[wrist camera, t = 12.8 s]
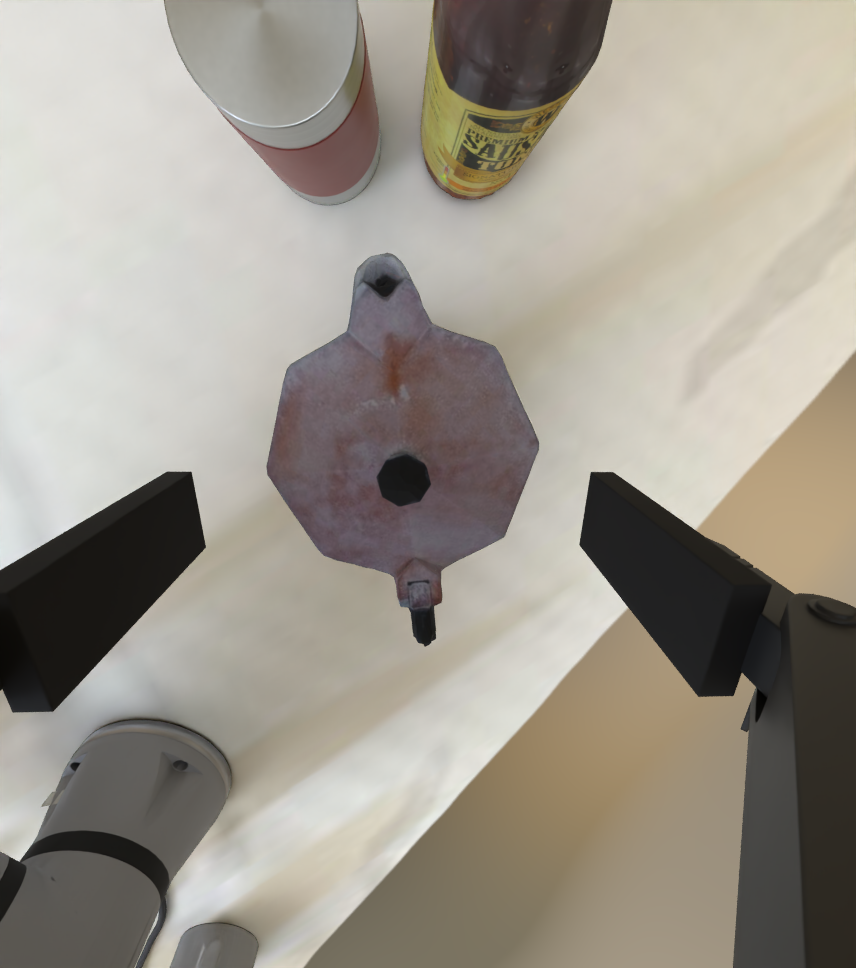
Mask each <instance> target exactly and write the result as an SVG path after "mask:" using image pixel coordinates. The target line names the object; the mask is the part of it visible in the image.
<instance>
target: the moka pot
mask: <svg viewBox="0 0 856 968" xmlns="http://www.w3.org/2000/svg"><path fill="white" fill-rule="evenodd" d="M538 450H539V441H538V439H537V436H536V434H535V431H534V429H533V427H532V424H531V422H530V420H529V418H528V416H527V414H526V412H525V410H524V408H523V405H522V403H521V401H520V399H519V397H518V394H517V392H516V390H515V388H514V385H513V383H512V381H511V379H510V376H509V374H508V372H507V370H506V367H505V364H504V362H503V359H502V357H501V355H500V354H499V352H498V350H497V349H496V347H495V346H493V345H491V344H488V343H486V342H483V341H480V340H477V339H474V338H470V337H467V336H464V335H460V334H457V333H454V332H451V331H448V330H446V329H443V328H441V327H438V326H436V325H433V324H432V322H431V321H430V319H429V317H428V315H427V313H426V311H425V309H424V307H423V305H422V302H421V299H420V296H419V293H418V291H417V289H416V287H415V286H414V284H413V282H412V280H411V277H410V275H409V273H408V271H407V270H406V268H405V266H404V265H403V263H402V262H401V261H400V260H399V259H398V258H397V257H396V256H394V255H393V254H390V253H385V254H380V255H375V256H371V257H369V258H368V259H367V260H366V261H365V262H364V263H363V264H362V265H360V266H359V267H358V268H357V271H356V274H355V278H354V286H353V297H352V306H351V313H350V319H349V324H348V329H347V331H346V332H345V333H343V334H342V335H340V336H339V337H337V338H336V339H334V340H332V341H331V342H329V343H327V344H326V345H324V346H322V347H320V348H319V349H317V350H315V351H313V352H311V353H310V354H308V355H306V356H304V357H303V358H301V359H299V360H297V361H296V362H294V363H292V364H291V365H290V366H289V367H288V368H287V371H286V374H285V378H284V382H283V387H282V392H281V397H280V402H279V406H278V412H277V417H276V423H275V428H274V433H273V437H272V442H271V447H270V452H269V457H268V462H267V474H268V476H269V478H270V479H271V481H272V482H273V484H274V485H275V487H276V488H277V490H278V491H279V493H280V494H281V496H282V497H283V499H284V500H285V502H286V503H287V505H288V506H289V508H290V509H291V511H292V512H293V514H294V515H295V517H296V518H297V519H298V521H299V522H300V524H301V525H302V527H303V528H304V530H305V531H306V533H307V534H308V536H309V537H310V539H311V540H312V541H313V543H314V544H315V546H316V547H317V549H318V550H319V551H320V552H321V553H322V554H323V555H324V556H327V557H329V558H332V559H334V560H337V561H342V562H347V563H351V564H355V565H358V566H362V567H365V568H372V569H375V570H378V571H382V572H385V573H388V574H390V575H392V576H393V577H394V579H395V583H396V588H397V596H398V600H399V604H400V606H401V607H408V608H409V610H410V612H411V619H412V629H413V636H414V637H415V638H416V639H417V642H418V643H421V644H424V646H427V645H429V644H430V643H431V641H433V640H435V639H436V632H435V631H436V626H435V615H434V606H435V605H437V604H440V603H441V602H442V588H441V571H442V570H443V569H444V568H445V567H447V566H449V565H451V564H452V563H454V562H456V561H458V560H460V559H462V558H464V557H466V556H468V555H470V554H472V553H474V552H476V551H478V550H481V549H483V548H484V547H486V546H488V545H490V544H492V543H494V542H496V541H498V540H500V539H501V538H503V537H504V536H505V534H506V532H507V529H508V527H509V524H510V522H511V519H512V517H513V514H514V511H515V509H516V506H517V504H518V501H519V499H520V496H521V494H522V491H523V489H524V486H525V484H526V481H527V479H528V476H529V474H530V471H531V468H532V465H533V463H534V460H535V457H536V455H537V453H538Z"/></svg>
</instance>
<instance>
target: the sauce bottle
mask: <svg viewBox="0 0 856 968" xmlns="http://www.w3.org/2000/svg"><path fill="white" fill-rule="evenodd" d="M611 4H612V0H434V4H433V13H432V23H431V34H430V43H429V52H428V62H427V71H426V79H425V87H424V98H423V106H422V117H421V141H422V147H423V154H424V159H425V163H426V166H427V169H428V172H429V173H430V175H431V177H432V178H433V180H434V181H435V183H436V184H437V185H439V187H440V188H441V189H442V190H444V191H445V192H446V193H449V194H450V195H451V196H453V197H455V198H460V199H481V198H482V197H485V196H487V195H491V194H493V193H494V192H495V191H496V190H498V189H500V188H501V187H502V186H504V185H505V184H507V183H508V182H509V181H510V180H511V178H512V177H513V176H514V175H515V174H516V172H517V171H518V170H519V168H520V167H521V165H522V164H523V163H524V161H525V160H526V158H527V157H528V156H529V154H530V153H531V151H532V150H533V148H534V147H535V146H536V144H537V143H538V142H539V140H540V139H541V138H542V136H543V135H544V133H545V132H546V130H547V129H548V128H549V126H550V125H551V124H552V122H553V121H554V120H555V118H556V117H557V115H558V114H559V112H560V111H561V109H562V108H563V107H564V105H565V104H566V102H567V101H568V100H569V98H570V97H571V96H572V94H573V93H574V92H575V90H576V89H577V88H578V87H579V85H580V84H581V82H582V81H583V79H584V78H585V76H586V75H587V73H588V72H589V70H590V69H591V67H592V66H593V64H594V62H595V61H596V59H597V57H598V54H599V51H600V49H601V46H602V42H603V37H604V33H605V29H606V25H607V21H608V16H609V12H610V8H611Z"/></svg>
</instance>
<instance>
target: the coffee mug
mask: <svg viewBox="0 0 856 968" xmlns="http://www.w3.org/2000/svg"><path fill="white" fill-rule="evenodd" d="M257 951H258V942H257V940H256V938H255V937H254V936H253V935H252V934H251V933H249V932H248V931H246V930H244V929H242V928H240V927H237V926H233V925H229V924H222V923H210V924H203V925H199V926H195V927H193V928H191V929H189V930H188V931H186V932H185V933H184V934H183V936H182V937H181V939H180V942H179V944H178V947H177V950H176V952H175V955H174V958H173V960H172V963H171V966H170V968H253V967H254V963H255V959H256V955H257Z"/></svg>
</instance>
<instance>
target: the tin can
mask: <svg viewBox="0 0 856 968" xmlns="http://www.w3.org/2000/svg"><path fill="white" fill-rule="evenodd" d="M164 4H165V10H166V15H167V20H168V25H169V28H170V31H171V34H172V38H173V41H174V43H175V46H176V48H177V50H178V53H179V55H180V57H181V59H182V61H183V63H184V65H185V67H186V69H187V70H188V72H189V73H190V75H191V76H192V78H193V79H194V81H195V82H196V84H197V85H198V86H199V87H200V89H201V90H202V91H203V92H204V93H205V95H206V96H207V97H208V98H209V99H210V100H211V101H212V102H213V103H214V105H215V106H216V107H217V108H218V110H219V111H220V112H221V114H222V115H223V116H224V117H225V118H226V120H227V121H228V122H229V123H230V124H231V125H232V126H233V127H234V129H235V130H236V131H237V132H238V133H239V134H240V135H241V136H242V137H243V138H244V140H245V141H246V142H247V143H248V144H249V145H250V146H251V147H252V148H253V149H254V151H255V152H256V153H257V154H258V155H259V156H260V157H261V158H262V159H263V160H264V162H265V163H266V164H267V165H268V166H269V167H270V168H271V169H272V170H273V171H274V173H275V174H276V175H277V176H278V177H279V178H280V179H281V180H282V181H284V182H285V183H286V184H287V186H289V187H290V188H291V189H292V190H293V191H294V192H295V193H296V194H298V195H299V196H301V197H302V198H304V199H306V200H308V201H311V202H313V203H317V204H322V205H336V204H341V203H344V202H346V201H349V200H351V199H352V198H354V197H356V196H357V195H358V194H359V193H361V192H362V191H363V189H364V188H365V187H366V186H367V185H368V183H369V182H370V180H371V179H372V177H373V175H374V173H375V170H376V168H377V165H378V161H379V156H380V148H381V137H380V128H379V118H378V111H377V105H376V99H375V93H374V87H373V81H372V75H371V69H370V63H369V57H368V51H367V45H366V39H365V33H364V27H363V22H362V18H361V14H360V11H359V5H358V0H164Z"/></svg>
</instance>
